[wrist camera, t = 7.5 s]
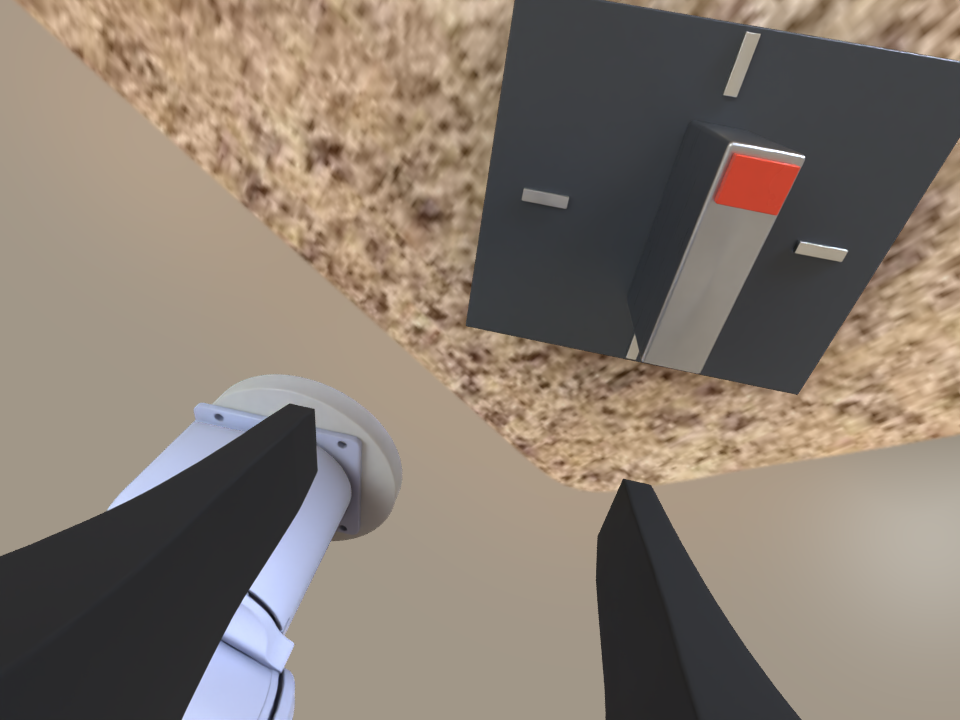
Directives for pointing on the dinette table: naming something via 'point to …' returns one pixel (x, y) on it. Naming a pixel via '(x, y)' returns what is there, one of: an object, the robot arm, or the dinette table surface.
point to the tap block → (651, 157)
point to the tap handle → (706, 240)
